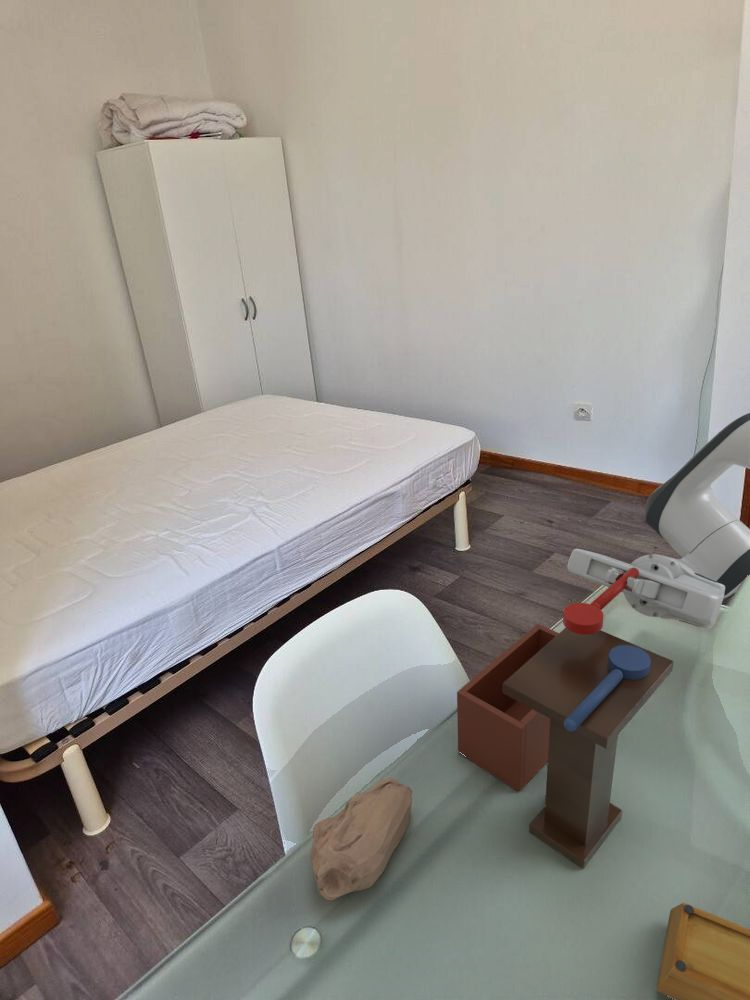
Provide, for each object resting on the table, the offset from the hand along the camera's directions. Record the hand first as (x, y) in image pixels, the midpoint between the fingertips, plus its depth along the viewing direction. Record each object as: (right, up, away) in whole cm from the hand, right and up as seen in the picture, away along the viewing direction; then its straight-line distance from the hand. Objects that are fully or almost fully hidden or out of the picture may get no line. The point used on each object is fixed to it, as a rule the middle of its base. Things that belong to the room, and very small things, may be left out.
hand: (621, 581), depth 88 cm
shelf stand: (-5, -33, +4) cm, 33 cm away
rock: (-29, -34, -1) cm, 45 cm away
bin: (-8, -26, +19) cm, 33 cm away
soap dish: (+5, -37, -17) cm, 41 cm away
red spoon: (-3, -2, -2) cm, 4 cm away
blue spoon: (-6, -11, -11) cm, 17 cm away
